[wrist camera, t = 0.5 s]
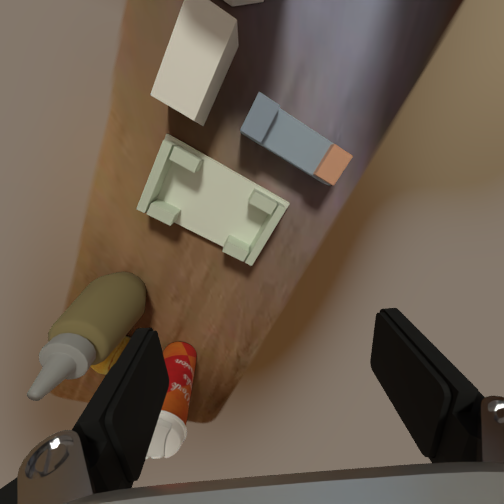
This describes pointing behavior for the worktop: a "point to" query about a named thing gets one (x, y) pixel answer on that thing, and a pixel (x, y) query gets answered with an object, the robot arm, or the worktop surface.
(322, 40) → the worktop surface
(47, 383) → the squeeze bottle
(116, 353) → the bread roll
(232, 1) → the toilet paper
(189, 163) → the jig
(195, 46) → the block
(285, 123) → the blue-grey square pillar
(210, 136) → the worktop surface
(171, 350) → the paper cup
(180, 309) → the worktop surface
